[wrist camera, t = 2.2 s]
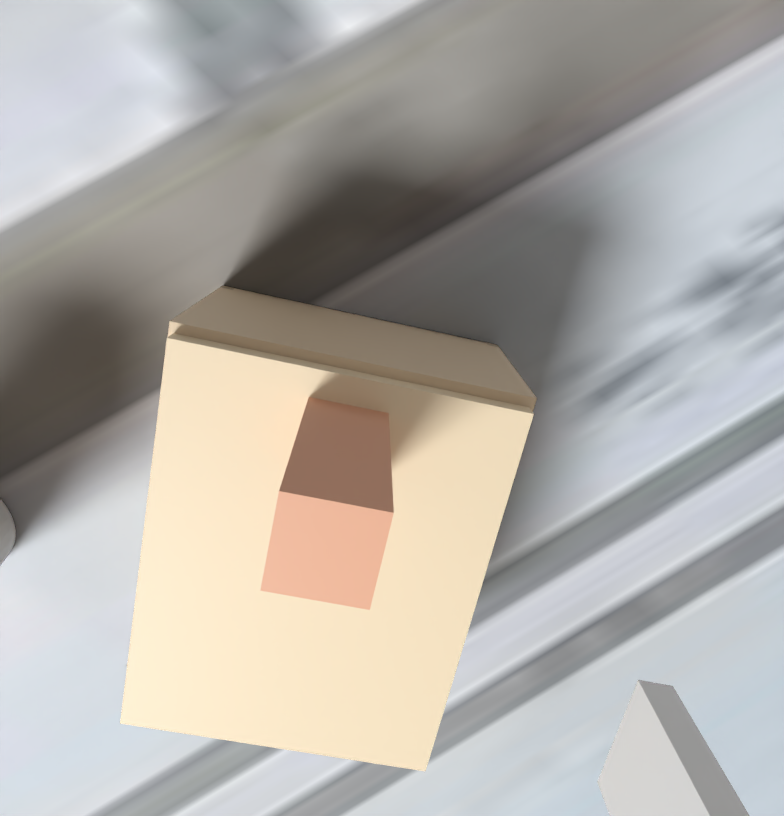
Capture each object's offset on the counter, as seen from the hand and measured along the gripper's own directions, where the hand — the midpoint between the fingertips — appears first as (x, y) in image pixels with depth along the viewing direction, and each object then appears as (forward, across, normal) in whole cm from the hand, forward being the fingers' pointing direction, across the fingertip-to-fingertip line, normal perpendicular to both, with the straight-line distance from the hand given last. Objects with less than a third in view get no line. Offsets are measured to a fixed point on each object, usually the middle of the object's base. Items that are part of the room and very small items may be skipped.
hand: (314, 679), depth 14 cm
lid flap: (+13, 0, -6) cm, 15 cm away
